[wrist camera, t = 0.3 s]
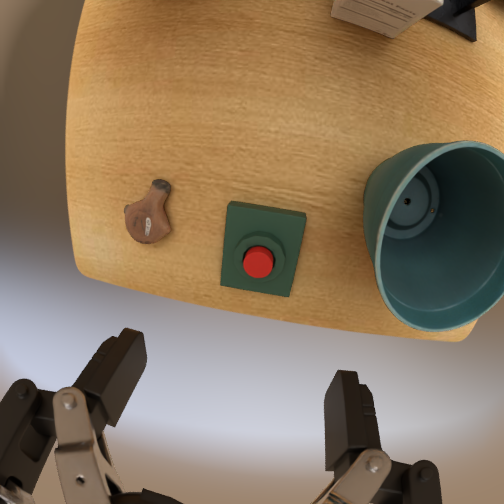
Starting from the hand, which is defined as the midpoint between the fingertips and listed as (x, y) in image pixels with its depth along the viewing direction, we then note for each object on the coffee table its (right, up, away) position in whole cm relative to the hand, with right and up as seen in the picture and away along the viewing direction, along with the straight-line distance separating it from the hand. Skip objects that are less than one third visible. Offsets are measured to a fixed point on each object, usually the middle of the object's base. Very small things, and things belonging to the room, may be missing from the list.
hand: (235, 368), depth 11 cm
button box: (+2, +5, +29) cm, 30 cm away
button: (+2, +4, +26) cm, 26 cm away
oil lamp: (-13, +11, +29) cm, 34 cm away
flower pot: (+21, +12, +24) cm, 34 cm away
